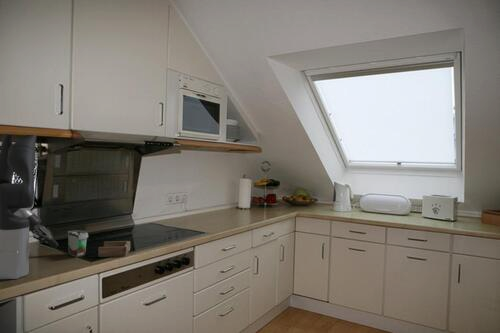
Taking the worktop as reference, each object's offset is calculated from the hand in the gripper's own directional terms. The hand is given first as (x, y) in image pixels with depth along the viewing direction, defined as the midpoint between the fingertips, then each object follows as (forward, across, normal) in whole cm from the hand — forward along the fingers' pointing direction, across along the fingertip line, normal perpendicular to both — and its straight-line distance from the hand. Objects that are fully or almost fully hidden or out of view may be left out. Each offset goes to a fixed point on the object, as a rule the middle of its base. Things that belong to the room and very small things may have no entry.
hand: (56, 246), depth 153 cm
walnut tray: (+20, 0, -15) cm, 25 cm away
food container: (+10, 0, -4) cm, 11 cm away
